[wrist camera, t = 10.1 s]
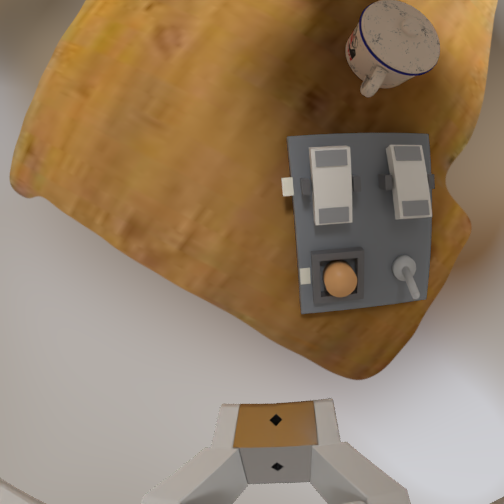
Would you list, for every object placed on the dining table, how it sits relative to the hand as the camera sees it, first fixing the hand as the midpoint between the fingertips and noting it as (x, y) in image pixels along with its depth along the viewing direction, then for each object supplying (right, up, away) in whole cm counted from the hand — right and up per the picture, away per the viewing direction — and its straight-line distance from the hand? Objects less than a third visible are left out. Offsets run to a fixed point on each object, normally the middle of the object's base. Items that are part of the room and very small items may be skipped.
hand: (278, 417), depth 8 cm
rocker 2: (+16, +12, +22) cm, 30 cm away
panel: (+13, +9, +29) cm, 33 cm away
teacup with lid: (+14, +27, +23) cm, 39 cm away
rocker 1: (+7, +11, +23) cm, 27 cm away
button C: (+9, +2, +28) cm, 29 cm away
